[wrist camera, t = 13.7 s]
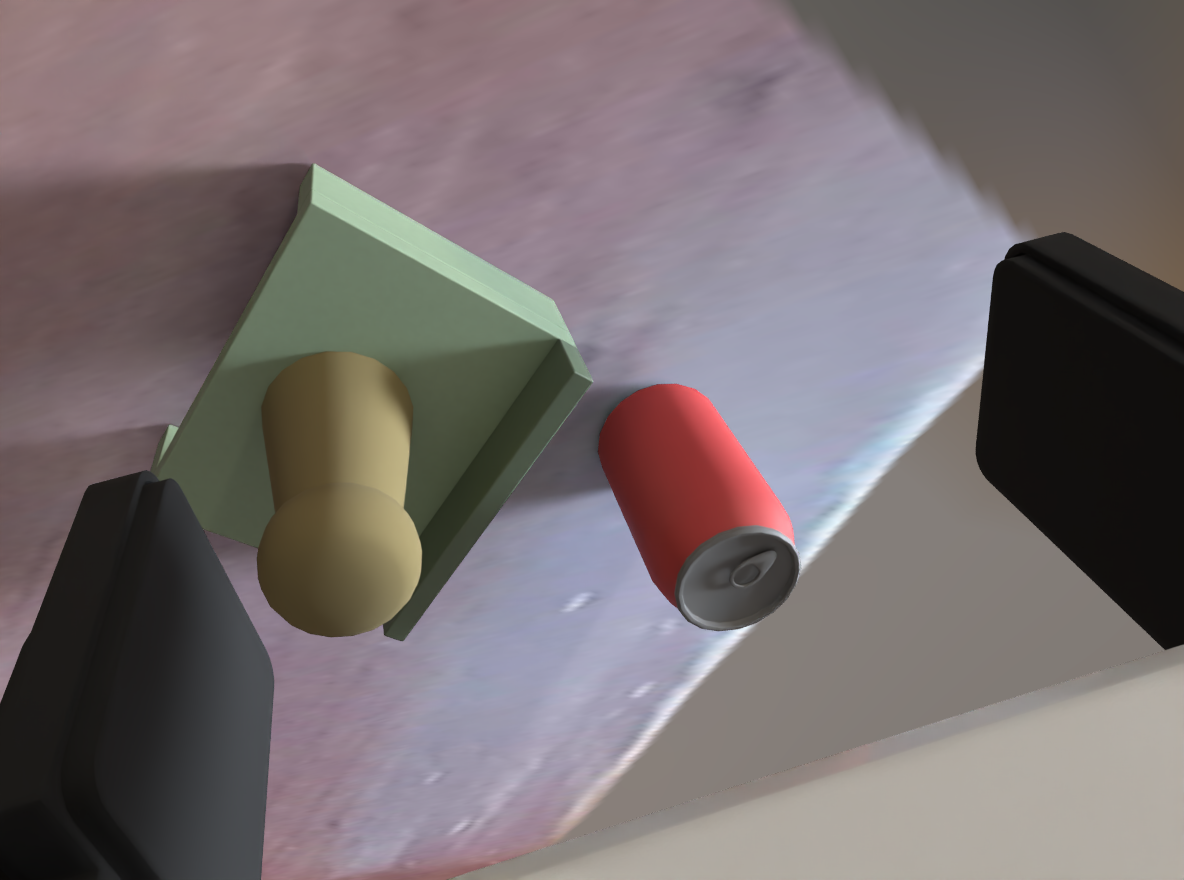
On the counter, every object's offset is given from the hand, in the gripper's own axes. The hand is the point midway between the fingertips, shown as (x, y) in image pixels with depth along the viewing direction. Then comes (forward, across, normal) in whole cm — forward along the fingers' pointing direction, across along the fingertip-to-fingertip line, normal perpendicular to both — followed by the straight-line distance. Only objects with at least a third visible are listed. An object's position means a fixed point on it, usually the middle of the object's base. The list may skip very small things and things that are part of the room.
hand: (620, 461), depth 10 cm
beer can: (+31, -7, +21) cm, 38 cm away
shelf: (+30, +6, +13) cm, 34 cm away
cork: (+26, +7, +13) cm, 29 cm away
